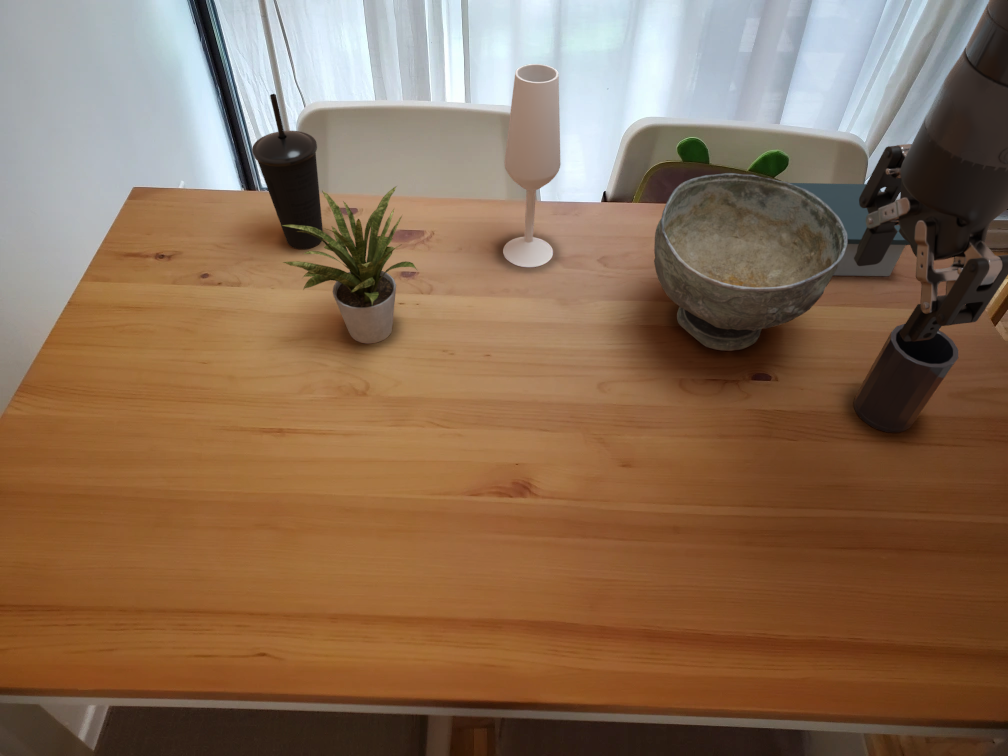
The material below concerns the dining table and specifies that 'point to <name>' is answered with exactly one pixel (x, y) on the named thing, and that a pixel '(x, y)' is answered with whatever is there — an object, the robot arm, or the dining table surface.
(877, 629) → the dining table surface
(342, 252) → the house plant
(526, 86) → the champagne flute
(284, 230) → the drinking cup
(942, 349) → the cup
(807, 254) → the bowl
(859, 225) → the container
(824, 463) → the dining table surface
